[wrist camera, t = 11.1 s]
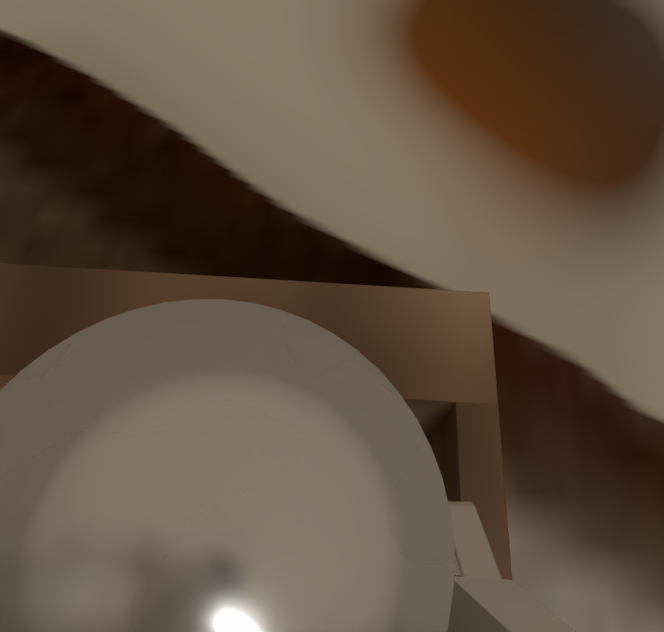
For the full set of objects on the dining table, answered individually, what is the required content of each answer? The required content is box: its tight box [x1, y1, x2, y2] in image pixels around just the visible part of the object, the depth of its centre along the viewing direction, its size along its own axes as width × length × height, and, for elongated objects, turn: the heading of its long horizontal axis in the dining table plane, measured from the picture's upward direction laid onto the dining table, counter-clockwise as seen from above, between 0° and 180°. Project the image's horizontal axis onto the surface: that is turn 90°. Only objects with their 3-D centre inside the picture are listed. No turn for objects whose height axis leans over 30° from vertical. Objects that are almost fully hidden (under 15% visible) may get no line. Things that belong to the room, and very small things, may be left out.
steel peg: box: [0, 299, 454, 632], centre depth 9 cm, size 6×6×12 cm
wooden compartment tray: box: [0, 263, 512, 580], centre depth 14 cm, size 22×14×6 cm, turn 87°
